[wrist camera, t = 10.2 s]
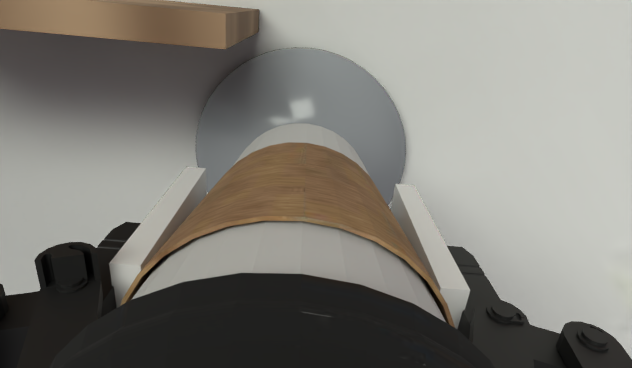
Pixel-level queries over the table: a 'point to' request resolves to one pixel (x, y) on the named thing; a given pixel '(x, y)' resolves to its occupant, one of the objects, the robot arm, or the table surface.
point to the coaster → (302, 111)
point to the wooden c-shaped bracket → (134, 20)
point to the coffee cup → (282, 276)
